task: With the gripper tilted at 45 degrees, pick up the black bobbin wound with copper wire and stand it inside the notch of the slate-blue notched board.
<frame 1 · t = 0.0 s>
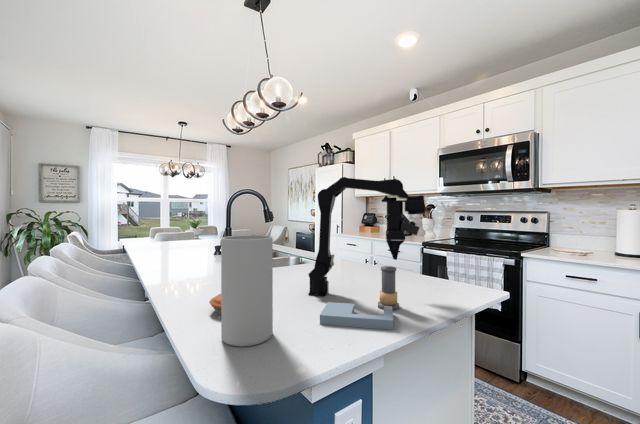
hand: (394, 257, 108), 15 cm above the counter, tool pointing down, fingers open, 9 cm apart
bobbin: (388, 307, 98), on the counter
notched board: (357, 319, 87), on the counter
cylinder vase: (247, 337, 75), on the counter
pie: (235, 311, 96), on the counter
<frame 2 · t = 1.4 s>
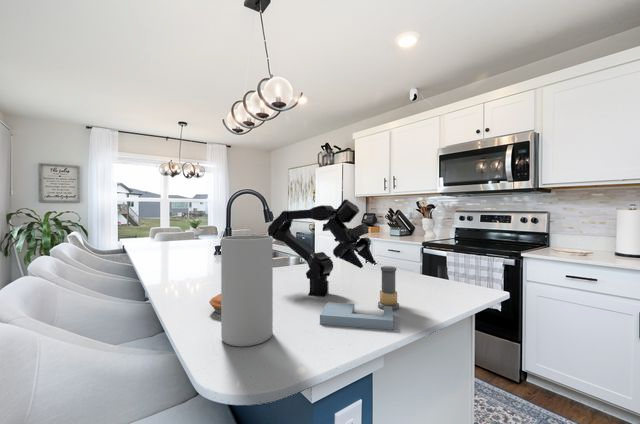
hand: (368, 265, 102), 13 cm above the counter, tool tilted 45°, fingers open, 9 cm apart
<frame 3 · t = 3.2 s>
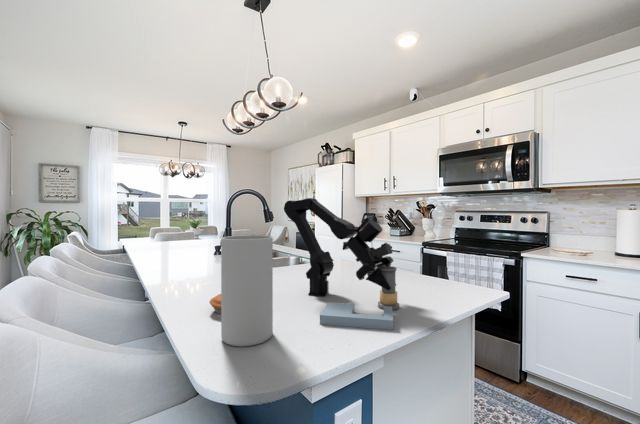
hand: (392, 287, 97), 7 cm above the counter, tool tilted 45°, fingers closed on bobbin, 4 cm apart
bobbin: (388, 307, 98), on the counter, touching gripper
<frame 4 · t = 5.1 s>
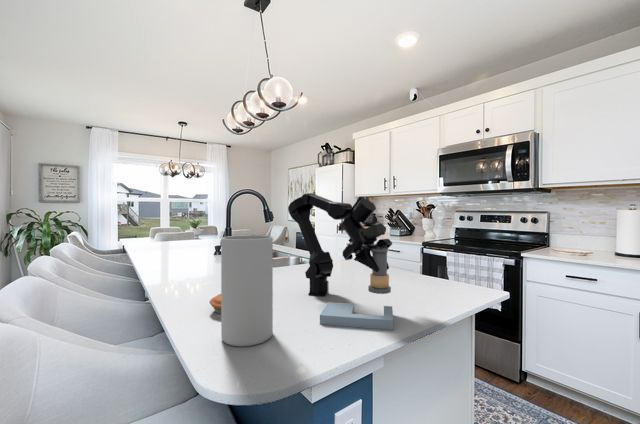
hand: (383, 270, 91), 14 cm above the counter, tool tilted 45°, fingers closed on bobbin, 4 cm apart
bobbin: (379, 290, 92), point 7 cm above the counter, touching gripper
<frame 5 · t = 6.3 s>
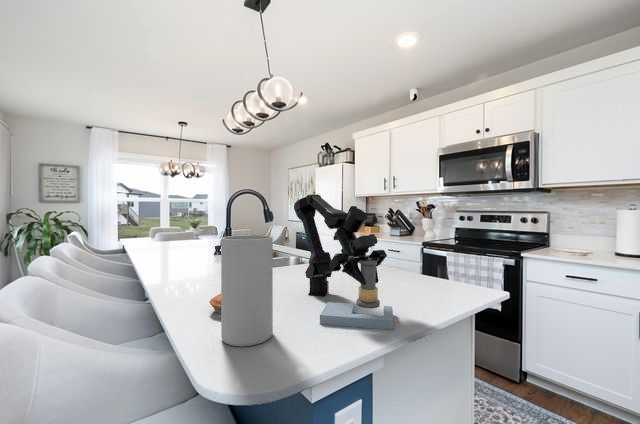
hand: (371, 283, 87), 10 cm above the counter, tool tilted 45°, fingers closed on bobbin, 4 cm apart
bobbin: (368, 304, 89), point 4 cm above the counter, touching gripper
when the fingers open (7 cm above the counter, at t = 7.3 s): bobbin stays where it is, on the counter.
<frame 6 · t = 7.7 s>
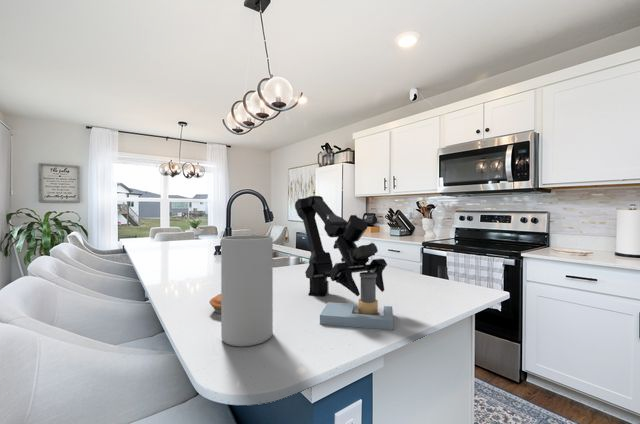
hand: (371, 293, 87), 8 cm above the counter, tool tilted 45°, fingers open, 9 cm apart
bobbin: (368, 317, 89), on the counter
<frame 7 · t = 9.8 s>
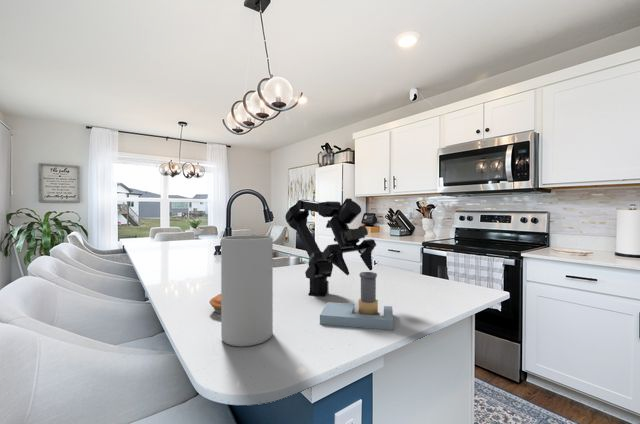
hand: (360, 272, 95), 12 cm above the counter, tool tilted 35°, fingers open, 9 cm apart
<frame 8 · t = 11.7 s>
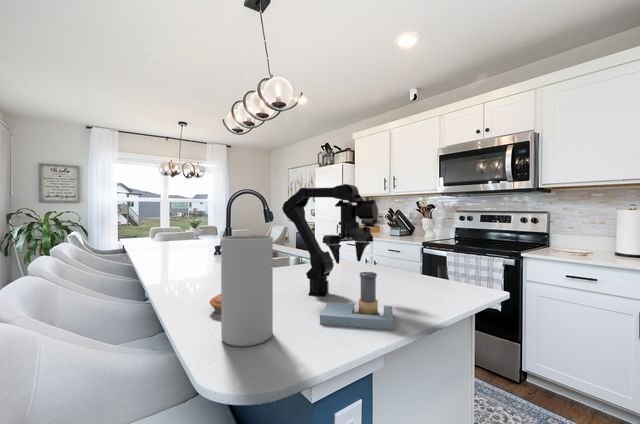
hand: (348, 262, 108), 13 cm above the counter, tool pointing down, fingers open, 9 cm apart
at the end: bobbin 0.4 cm from the target spot on the notched board, point 0.0 cm above the notched board's base; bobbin tilted 0°; the gripper is holding nothing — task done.
